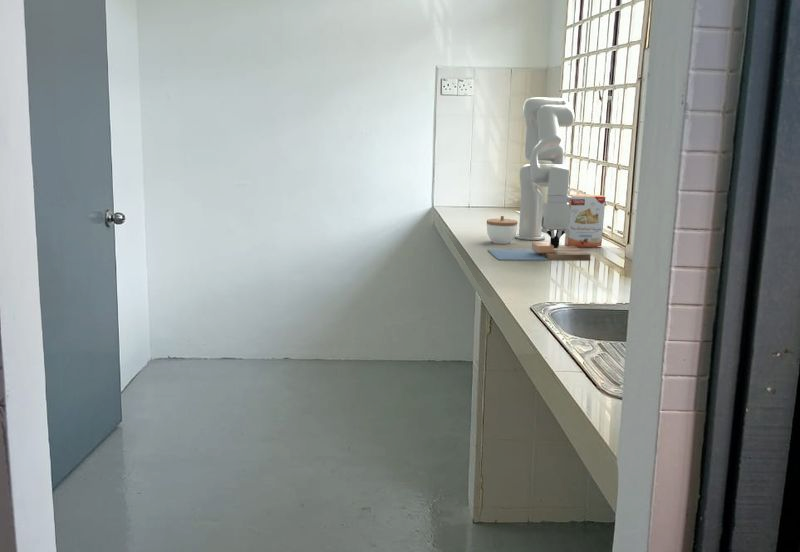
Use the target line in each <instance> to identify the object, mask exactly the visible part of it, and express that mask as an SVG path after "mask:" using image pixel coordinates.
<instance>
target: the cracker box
mask: <svg viewBox="0 0 800 552" xmlns="http://www.w3.org/2000/svg"><path fill="white" fill-rule="evenodd" d="M568 196H569V197H571V200H569V201H568V202H567V203H568V204H569V208H570V228H569V230H570V232H569V233H564V234H565V237H564V246H576V247H578V248H598V247H597V246H601V247H602V243H603V231H604V220H605V210H606V209H605V207H606V196H605V195H601V194H598V195H597V194H568Z"/></svg>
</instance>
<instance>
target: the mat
mask: <svg viewBox="0 0 800 552" xmlns="http://www.w3.org/2000/svg"><path fill="white" fill-rule="evenodd" d="M487 252H488V253H490V254H491V256H493V257H494V258H495V259H496V260H498V261H549V260H548V259H547V258H545V257H544V256H542V255H541V254H539V253H538V252H536V251H534V250H533V249H487Z"/></svg>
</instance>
